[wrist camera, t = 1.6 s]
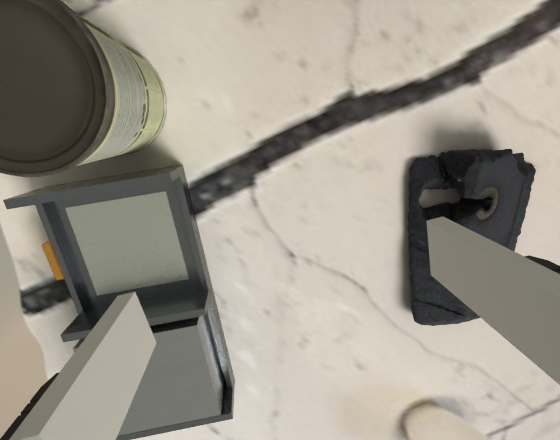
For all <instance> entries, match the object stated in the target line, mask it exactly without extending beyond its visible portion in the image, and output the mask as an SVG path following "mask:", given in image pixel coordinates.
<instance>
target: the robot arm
mask: <svg viewBox="0 0 560 440" xmlns="http://www.w3.org/2000/svg"><path fill="white" fill-rule="evenodd" d="M427 233H428V245H429V257H430V270H431V276H433V277H434V278H435V279H436V280H437V281H438V282H440V283H441V284H442V285H443V286H444V287H446V288H447V289H448V290H449V291H450V292H451V293H453V294H454V295H455V296H456V297H457V298H458V299H460V300H461V301H462V302H463V303H464V304H465V305H467V306H468V307H469V308H470V309H471V310H472V311H474V312H475V313H476V314H477V315H478V316H480V317H481V318H482V319H483V320H484V321H485V322H487V323H488V324H489V325H490V326H491V327H492V328H494V329H495V330H496V331H497V332H498V333H499V334H501V335H502V336H503V337H504V338H505V339H506V340H508V341H509V342H510V343H511V344H512V345H514V346H515V347H516V348H517V349H518V350H519V351H521V352H522V353H523V354H524V355H525V356H526V357H528V358H529V359H530V360H531V361H532V362H533V363H535V364H536V365H537V366H538V367H539V368H540V369H542V370H543V371H544V372H545V373H546V374H548V375H549V376H550V377H551V378H552V379H553V380H555V381H556V382H557V383H558V384H559V385H560V266H558V265H556V264H554V263H552V262H550V261H548V260H544V259H540V258H536V257H532V256H525V257H524V256H522V255H520V254H518V253H516V252H514V251H512V250H510V249H508V248H506V247H504V246H502V245H500V244H498V243H496V242H494V241H492V240H490V239H488V238H485V237H483V236H481V235H479V234H477V233H475V232H473V231H471V230H469V229H467V228H465V227H463V226H461V225H459V224H457V223H455V222H453V221H451V220H449V219H447V218H445V217H439V218H435V219H431V220H427ZM155 345H156V340H155V338H154V336H153V333H152V331H151V328H150V326H149V324H148V321H147V319H146V316H145V314H144V312H143V309H142V307H141V304H140V302H139V300H138V297H137V295H136V292H131V293H127V294H123V295H119V296H117V297H116V299H115V300H114V301H113V303H112V304H111V305H110V307H109V308H108V309H107V311H106V312H105V313H104V315H103V316H102V317H101V319H100V320H99V321H98V323H97V324H96V325H95V327H94V328H93V329H92V331H91V332H90V333H89V335H88V336H87V337H86V338H85V340H84V341H83V342H82V344H81V345H80V346H79V348H78V349H77V350H76V352H75V353H74V354H73V356H72V357H71V358H70V360H69V361H68V362H67V364H66V365H65V366H64V368H63V369H62V370H61V372H60V373H56V374H55V375H54V376H53V377H52V378H51V379H50V380H48V381H47V382H46V383H45V384H44V385H43V386H42V387H41V388H40V389H39V391H38V392H37V393H36V394H35V395H34V397H33V398H32V399H31V401H30V403H29V404H27V406H26V407H25V408H24V410H23V411H22V412H21V415H20V416H18V417H17V418H16V420H15V421H14V422H13V423H12V425H11V426H10V427H9V429H8V430H7V431H6V432H5V434H4V435H3V436H2V437H1V439H0V440H116V438H117V436H118V433H119V431H120V428H121V426H122V424H123V421H124V419H125V417H126V414H127V412H128V409H129V407H130V405H131V402H132V400H133V398H134V395H135V393H136V390H137V388H138V386H139V383H140V381H141V378H142V376H143V374H144V371H145V369H146V367H147V364H148V362H149V359H150V357H151V355H152V352H153V350H154V348H155Z"/></svg>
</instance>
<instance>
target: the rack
mask: <svg viewBox="0 0 560 440" xmlns="http://www.w3.org/2000/svg"><path fill="white" fill-rule="evenodd" d="M3 201H4V203H5V206H6V208H7V209H11V208H17V207H23V206H29V205H36V208H37V210H38V213H39V215H40V218H41V220H42V223H43V226H44V228H45V231H46V233H47V236H48V238H49V241H47V242H45V243H43V244H42V246H43V249H44V251H45V254H46V256H47V259H48V261H49V264H50V266H51V269H52V271H53V273H54V276H55V278H56V280H61V279H65V281H66V284H67V286H68V289H69V291H70V294H71V296H72V299H73V301H74V304H75V307H76V309H77V312H78V314H79V315H78V316H77V317H76V318H75V320H74V321H73V322H72V323H71V324H70V325H69V326H68V327H67V329H66V330H65V331H64V332H63V333H62V334H61V338H62V340H63V342H67V341H72V340H78V339H80V341H79V342H78V343H77V345H76V346H75V347H74V348H73V349H74V352H76V350H77V349H78V348H79V346H80V345H81V344H82V342H83V341H84V340H85V338H86V337H87V336H88V335H89V333H90V332H91V331H92V329H93V328H94V327H95V325H96V324H97V323H98V321H99V320H100V319H101V317H102V316H103V315H104V313H105V312H106V311H107V309H108V308H109V307H110V305H111V304H112V303H113V301H114V300H115V299H116V297H117V296H119V295H123V294H127V293H131V292H136V295H137V297H138V300H139V302H140V304H141V307H142V309H143V312H144V314H145V316H146V319H147V321H148V324H149V326H150V328H151V331H152V333H153V336H154V338H155V340H156V345H155V348H154V350H153V352H152V355H151V357H150V359H149V362H148V364H147V367H146V369H145V371H144V374H143V376H142V378H141V381H140V383H139V386H138V388H137V390H136V393H135V395H134V398H133V400H132V402H131V405H130V407H129V409H128V412H127V414H126V417H125V419H124V421H123V424H122V426H121V428H120V431H119V433H118V436H117V438H116V440H131V439H136V438H141V437H146V436H151V435H156V434H161V433H165V432H170V431H175V430H180V429H185V428H190V427H195V426H200V425H204V424H209V423H214V422H219V421H224V420H229V419H233V404H234V384H235V379H234V375H233V371H232V367H231V363H230V358H229V354H228V350H227V346H226V342H225V338H224V334H223V330H222V325H221V321H220V317H219V313H218V309H217V305H216V301H215V296H214V292H213V288H212V284H211V280H210V276H209V272H208V268H207V263H206V259H205V255H204V251H203V247H202V243H201V239H200V234H199V230H198V226H197V222H196V218H195V214H194V210H193V206H192V201H191V197H190V193H189V189H188V185H187V181H186V177H185V172H184V168H183V165H178V166H172V167H166V168H160V169H154V170H148V171H142V172H136V173H129V174H123V175H117V176H111V177H105V178H99V179H93V180H87V181H81V182H74V183H68V184H62V185H56V186H50V187H44V188H41V189H38V190H34V191H31V192H28V193H25V194H21V195H18V196H15V197H12V198H9V199H5V200H3Z"/></svg>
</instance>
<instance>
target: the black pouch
mask: <svg viewBox="0 0 560 440" xmlns="http://www.w3.org/2000/svg"><path fill="white" fill-rule="evenodd" d="M441 159H442V161H440V160H441ZM535 172H536V170H535V168H534V166H533V165H532V164H527V163H526V162H525V161H524V154H523V153H517V154H512V150H511V149H505V150H475V149H472V150H456V151H454V150H452V151H449V152H447V154H446V153H441V155H440V157H439V158H437V157H436V156H430V157H429V158H425V157H424V158H421V159H419V158H417V159H415V161H414V163H413V164H412V166H411V167H410V178H411V179H410V183H409V190H410V196H409V215H408V222H409V226H408V230H409V231H408V233H409V242H410V245H409V250H410V272H411V276H410V279H411V284H412V285H411V287H412V298H413V299H412V308H411V310H412V314H413V318H414V321H415V322H417V323H419V324H421V325H432V326H435V325H447V324H458V323H461V322H467V321H470V320H473V319H477V318H481V317H480V316H478V315H477V314H476V313H475V312H474V311H472V310H471V309H470V308H469V307H468V306H467V305H465V304H464V303H463V302H462V301H461V300H460V299H458V298H457V297H456V296H455V295H454V294H453V293H451V292H450V291H449V290H448V289H447V288H446V287H444V286H443V285H442V284H441V283H440V282H438V281H437V280H436V279H435V278H434V277H433V276H431V270H430V257H429V245H428V233H427V220H431V219H435V218H439V217H445V218H447V219H449V220H451V221H453V222H455V223H457V224H459V225H461V226H463V227H465V228H467V229H469V230H471V231H473V232H475V233H477V234H479V235H481V236H483V237H485V238H488V239H490V240H492V241H494V242H496V243H498V244H500V245H502V246H504V247H506V248H508V249H510V250H512V251H514V250H515V247H516V243H517V237H518V236H519V235H520V233H521V230H520V229H521V227H522V223H523V220H524V218H525V213H526V207H527V205H528V201H529V198H530V192H531V185H532V183H533V181H534V175H535ZM451 186H452V188H454V189H456V190H457V191H458V193H459V195H460V196H461V199H460V202H457V203H455V204H450V203H442V204H438V205H434V206H431V207H427V208H422V207H421V206H420V205H419V198H420V196H421V194H422V192H423V191H424V190H425V189H439V188H441V189H448V188H449V187H451Z"/></svg>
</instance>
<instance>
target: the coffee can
mask: <svg viewBox="0 0 560 440" xmlns="http://www.w3.org/2000/svg"><path fill="white" fill-rule="evenodd" d="M166 111H167V102H166V95H165V91H164V87H163V84H162V81H161V79H160V78H159V76H158V74H157V72H156V71H155V69H154V68H153V67H152V65H151V64H150V63H149V62H148V61H147V60H146V59H145V58H144V57H143V56H142V55H140V54H139V53H138V52H136V51H135V50H133V49H132V48H130V47H127V46H125V45H124V44H122V43H121V42H119V41H118V40H116V39H115V38H113V37H112V36H110V35H109V34H107V33H106V32H104V31H103V30H101V29H100V28H98V27H96V26H95V25H93V24H92V23H90V22H89V21H87V20H85V19H84V18H82V17H81V16H79V15H78V14H76V13H75V12H74V11H73V10H71V9H70V8H69V7H68V6H67V5H66V4H64V3H63V2H62V1H60V0H0V173H4V174H8V175H14V176H22V177H41V176H47V175H52V174H56V173H60V172H63V171H65V170H68V169H70V168H72V167H76V166H79V165H84V164H87V163H91V162H95V161H98V160H102V159H106V158H110V157H114V156H118V155H122V154H128V153H132V152H136V151H139V150H141V149H143V148H144V147H146V146H147V145H149V144H150V143H151V142H152V141H153V140H154V139H155V138H156V137H157V135H158V134H159V132H160V131H161V129H162V127H163V125H164V122H165V117H166Z"/></svg>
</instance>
